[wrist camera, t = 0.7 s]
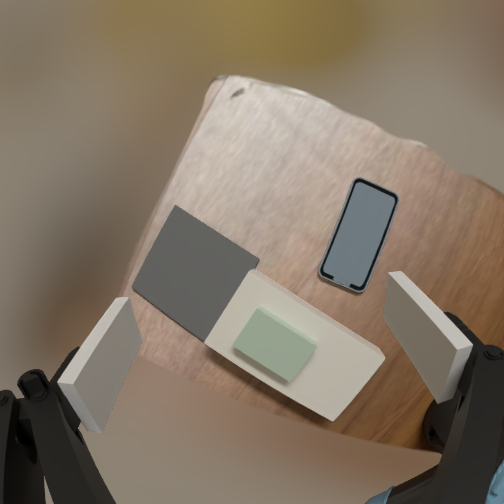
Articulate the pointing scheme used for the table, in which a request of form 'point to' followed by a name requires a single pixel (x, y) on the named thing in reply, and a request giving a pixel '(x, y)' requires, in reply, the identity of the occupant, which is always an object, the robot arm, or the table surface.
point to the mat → (192, 272)
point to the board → (321, 360)
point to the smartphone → (359, 235)
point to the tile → (275, 343)
